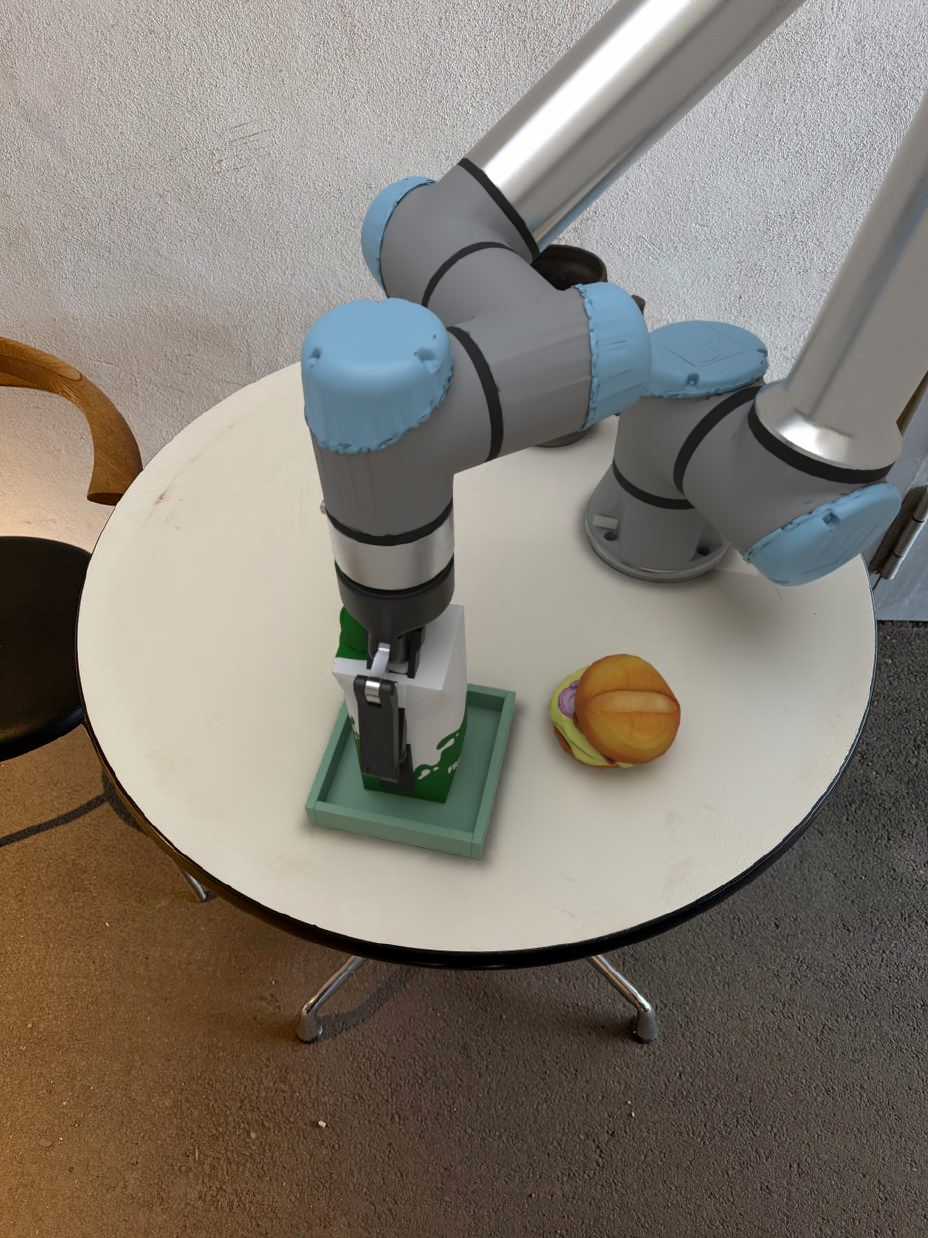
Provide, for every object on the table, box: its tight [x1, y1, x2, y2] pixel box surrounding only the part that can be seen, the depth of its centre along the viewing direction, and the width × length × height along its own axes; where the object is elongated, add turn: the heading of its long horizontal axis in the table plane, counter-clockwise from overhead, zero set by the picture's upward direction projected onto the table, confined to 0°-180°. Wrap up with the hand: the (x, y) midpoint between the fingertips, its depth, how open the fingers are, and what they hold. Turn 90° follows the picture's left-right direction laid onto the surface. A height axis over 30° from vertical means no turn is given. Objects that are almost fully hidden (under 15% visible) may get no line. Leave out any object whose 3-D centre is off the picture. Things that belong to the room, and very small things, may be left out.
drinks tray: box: [304, 682, 516, 860], centre depth 74 cm, size 15×15×3 cm
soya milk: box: [331, 603, 468, 804], centre depth 66 cm, size 9×9×20 cm
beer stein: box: [530, 243, 647, 447], centre depth 96 cm, size 15×11×20 cm
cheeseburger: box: [548, 653, 682, 770], centre depth 74 cm, size 10×11×10 cm
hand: (412, 735), depth 71 cm, fingers closed on soya milk, 9 cm apart
